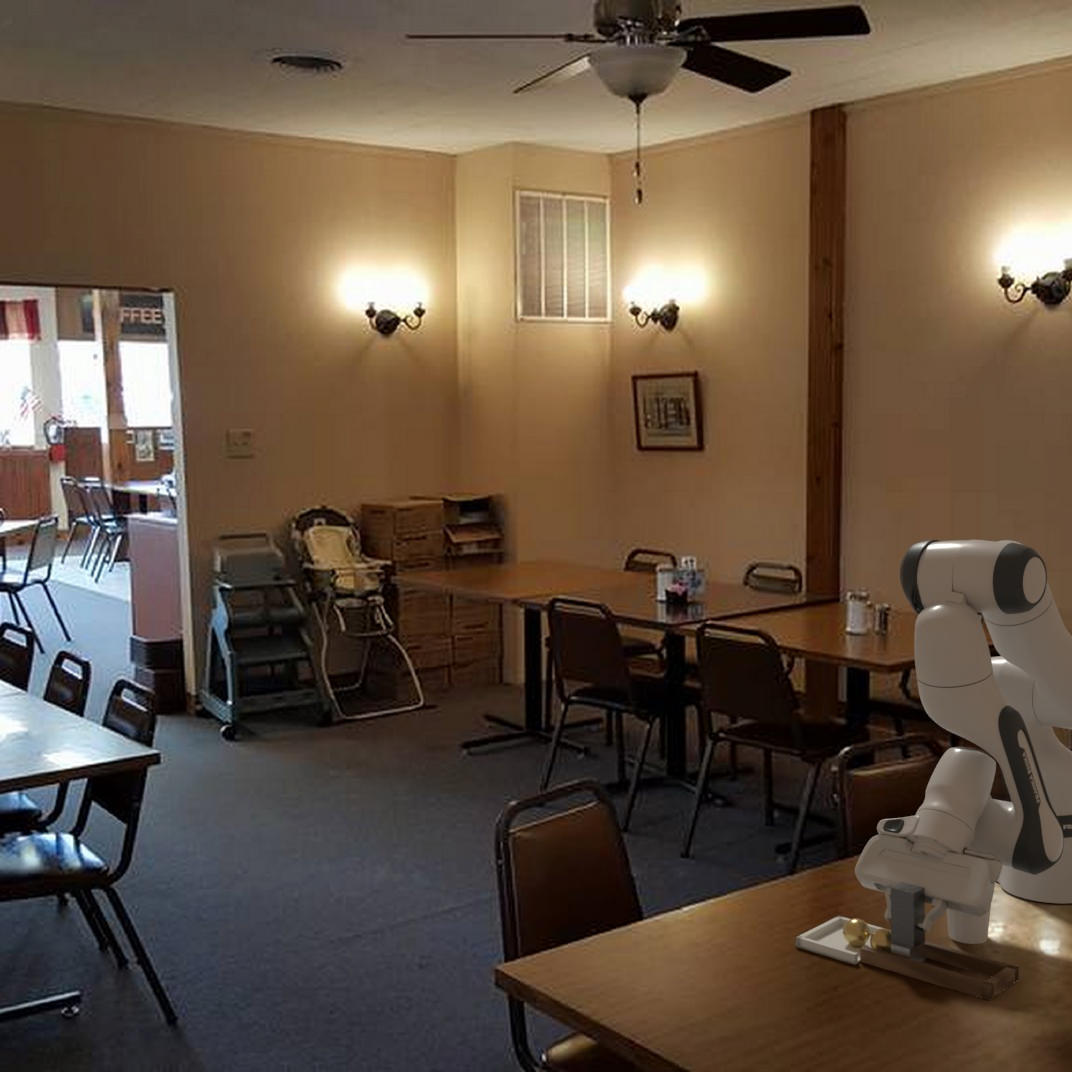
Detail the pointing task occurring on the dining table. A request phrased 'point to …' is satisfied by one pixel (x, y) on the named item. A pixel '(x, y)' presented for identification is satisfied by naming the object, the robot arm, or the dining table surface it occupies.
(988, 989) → the slot rail
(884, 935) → the brass sphere
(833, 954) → the tray
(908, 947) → the long gray brick
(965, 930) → the white cup
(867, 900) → the dining table surface
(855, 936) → the shiny gold ball
